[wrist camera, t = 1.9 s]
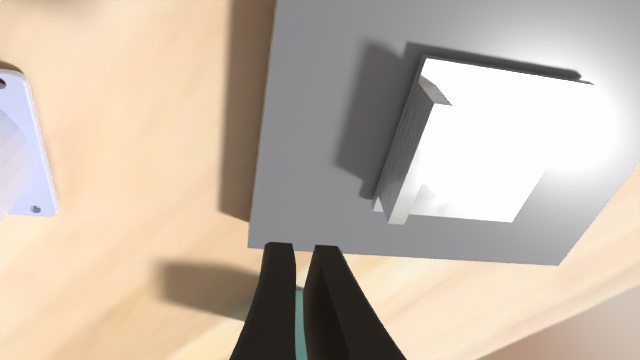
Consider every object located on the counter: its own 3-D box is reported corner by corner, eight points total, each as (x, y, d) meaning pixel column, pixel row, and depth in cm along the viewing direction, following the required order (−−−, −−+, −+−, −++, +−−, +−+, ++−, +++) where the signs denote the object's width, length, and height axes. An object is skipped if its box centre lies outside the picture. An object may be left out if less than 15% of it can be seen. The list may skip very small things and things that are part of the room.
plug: (250, 323, 30) (246, 425, 24) (256, 288, 27) (253, 392, 22) (303, 324, 30) (311, 423, 25) (313, 290, 28) (324, 391, 23)
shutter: (370, 204, 21) (381, 239, 19) (422, 54, 16) (444, 78, 14) (507, 216, 22) (530, 249, 20) (589, 81, 18) (630, 106, 16)
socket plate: (248, 223, 24) (247, 248, 22) (287, -101, 15) (289, -99, 13) (541, 243, 28) (558, 265, 26) (717, -2, 18) (759, 9, 17)
